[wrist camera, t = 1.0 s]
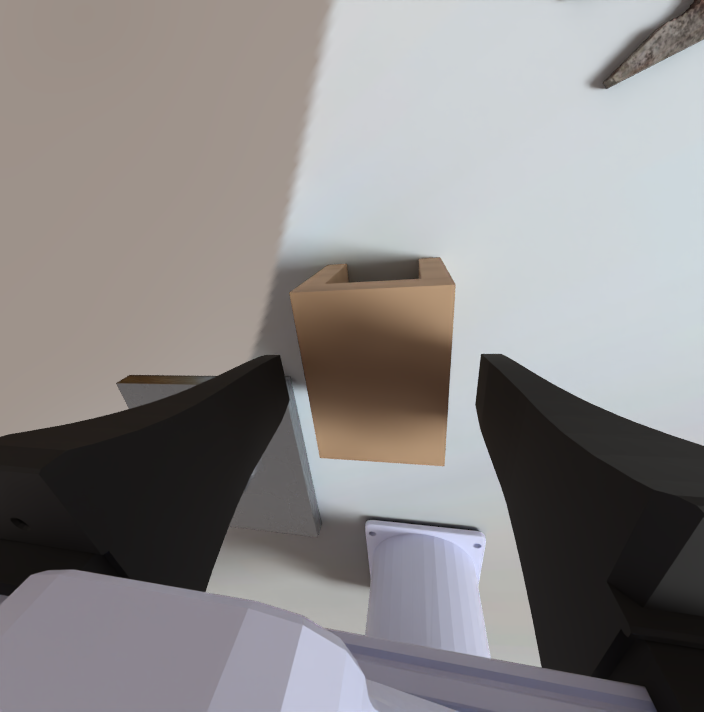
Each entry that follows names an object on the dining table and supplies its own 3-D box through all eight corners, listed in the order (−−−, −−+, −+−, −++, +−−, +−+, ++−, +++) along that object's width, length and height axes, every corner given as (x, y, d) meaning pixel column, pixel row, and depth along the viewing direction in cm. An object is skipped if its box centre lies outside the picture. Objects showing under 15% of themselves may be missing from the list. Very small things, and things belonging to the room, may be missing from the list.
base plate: (321, 524, 23) (307, 574, 19) (194, 510, 25) (164, 553, 22) (290, 376, 17) (263, 415, 14) (129, 375, 19) (75, 407, 16)
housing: (435, 393, 16) (444, 466, 11) (343, 391, 17) (320, 457, 12) (440, 257, 13) (455, 284, 8) (328, 264, 14) (289, 292, 9)
